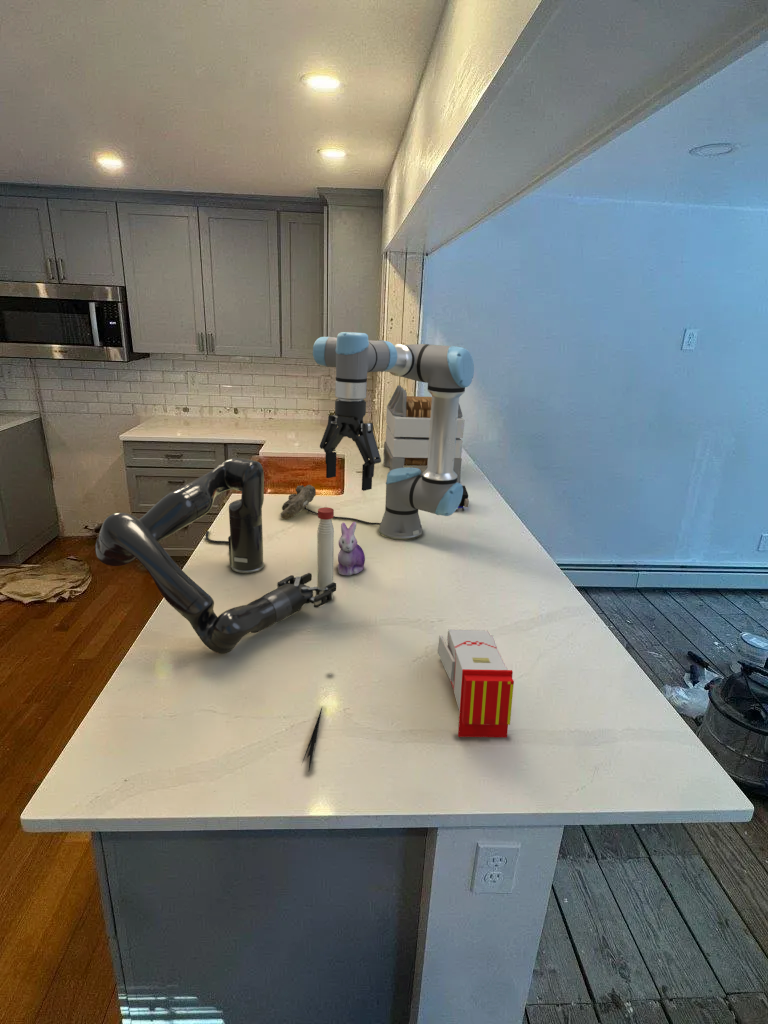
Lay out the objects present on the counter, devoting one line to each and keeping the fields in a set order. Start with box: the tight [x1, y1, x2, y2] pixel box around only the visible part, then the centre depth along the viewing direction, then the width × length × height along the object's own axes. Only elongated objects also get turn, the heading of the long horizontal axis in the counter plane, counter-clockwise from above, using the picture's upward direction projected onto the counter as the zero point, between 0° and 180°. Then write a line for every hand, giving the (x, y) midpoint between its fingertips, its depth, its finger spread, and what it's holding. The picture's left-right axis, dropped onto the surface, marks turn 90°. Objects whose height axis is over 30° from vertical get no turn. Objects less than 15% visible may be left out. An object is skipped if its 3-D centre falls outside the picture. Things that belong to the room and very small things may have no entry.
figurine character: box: [455, 484, 470, 512], centre depth 229 cm, size 7×8×15 cm
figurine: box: [337, 521, 366, 576], centre depth 168 cm, size 9×10×15 cm
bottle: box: [316, 518, 335, 600], centre depth 149 cm, size 4×4×25 cm
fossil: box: [280, 484, 317, 520], centre depth 215 cm, size 22×10×15 cm
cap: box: [317, 506, 335, 520], centre depth 145 cm, size 4×4×2 cm
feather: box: [301, 673, 332, 771], centre depth 108 cm, size 2×28×2 cm
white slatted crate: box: [383, 384, 465, 483], centre depth 268 cm, size 34×33×41 cm
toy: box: [437, 628, 515, 738], centre depth 117 cm, size 12×13×30 cm
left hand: (322, 581), depth 151 cm, fingers open, 8 cm apart
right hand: (348, 483), depth 144 cm, fingers open, 13 cm apart
